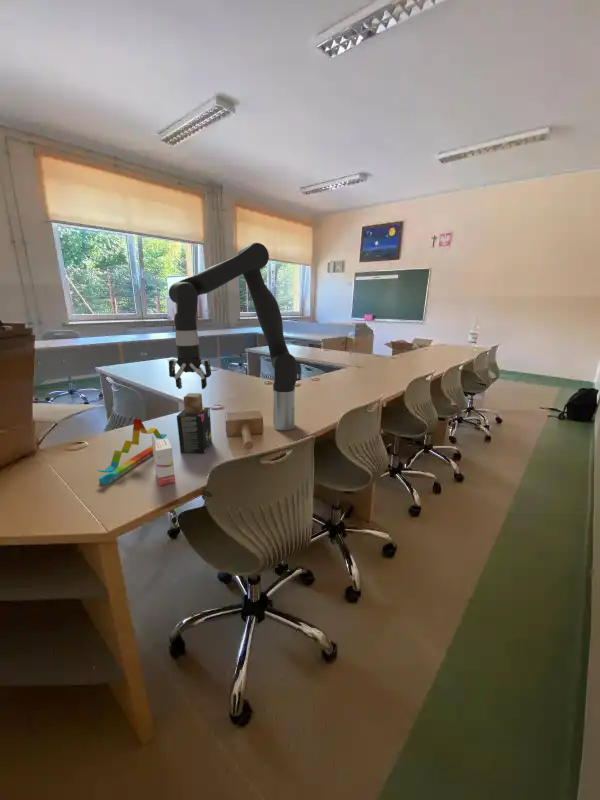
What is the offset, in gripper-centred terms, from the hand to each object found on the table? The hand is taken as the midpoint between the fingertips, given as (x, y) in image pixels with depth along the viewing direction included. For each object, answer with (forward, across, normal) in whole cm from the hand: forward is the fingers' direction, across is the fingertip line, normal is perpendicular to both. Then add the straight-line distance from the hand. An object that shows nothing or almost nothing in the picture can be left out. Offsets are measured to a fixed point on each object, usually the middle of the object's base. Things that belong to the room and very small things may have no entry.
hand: (191, 388), depth 122 cm
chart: (+24, +17, +12) cm, 31 cm away
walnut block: (+9, 0, 0) cm, 9 cm away
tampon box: (+24, 0, 0) cm, 24 cm away
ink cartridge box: (+23, +3, +23) cm, 33 cm away
